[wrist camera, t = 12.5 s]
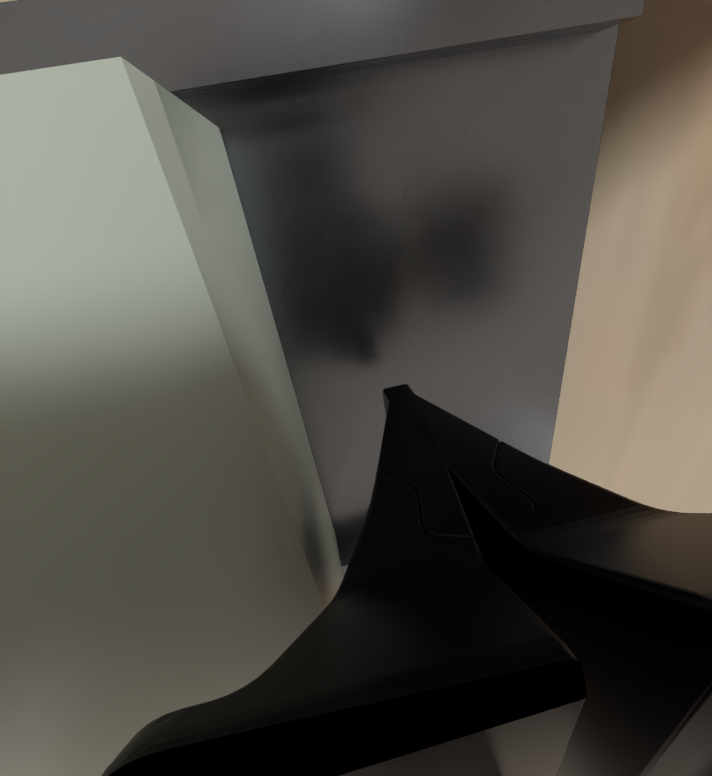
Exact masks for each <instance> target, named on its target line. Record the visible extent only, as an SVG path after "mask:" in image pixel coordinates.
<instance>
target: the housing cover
mask: <svg viewBox="0 0 712 776" xmlns="http://www.w3.org/2000/svg"><path fill="white" fill-rule="evenodd" d="M342 580H343V572H342V566H341V561H340V556H339V550H338V545H337V540H336V535H335V531H334V528H333V524H332V521H331V517H330V514H329V510H328V507H327V503H326V500H325V496H324V493H323V489H322V486H321V482H320V479H319V475H318V472H317V468H316V465H315V461H314V458H313V454H312V451H311V447H310V444H309V440H308V437H307V433H306V430H305V426H304V423H303V419H302V416H301V412H300V409H299V405H298V401H297V398H296V394H295V391H294V387H293V384H292V380H291V377H290V373H289V370H288V366H287V363H286V359H285V356H284V352H283V349H282V345H281V342H280V338H279V335H278V331H277V328H276V324H275V321H274V317H273V314H272V310H271V307H270V303H269V300H268V296H267V293H266V289H265V286H264V282H263V279H262V275H261V272H260V268H259V265H258V261H257V258H256V254H255V251H254V247H253V244H252V240H251V237H250V233H249V230H248V226H247V223H246V219H245V216H244V212H243V209H242V205H241V202H240V198H239V195H238V191H237V188H236V184H235V181H234V177H233V174H232V170H231V167H230V163H229V160H228V156H227V153H226V149H225V146H224V142H223V139H222V135H221V132H220V128H219V127H217V126H216V125H215V124H213V123H212V122H210V121H209V120H208V119H206V118H205V117H204V116H202V115H201V114H199V113H198V112H197V111H195V110H194V109H193V108H191V107H190V106H188V105H187V104H186V103H184V102H183V101H181V100H180V99H179V98H177V97H176V96H175V95H173V94H172V93H170V92H169V91H168V90H166V89H165V88H163V87H162V86H161V85H159V84H158V83H157V82H155V81H154V80H152V79H151V78H150V77H148V76H147V75H146V74H144V73H143V72H141V71H140V70H139V69H137V68H136V67H134V66H133V65H132V64H130V63H129V62H128V61H126V60H125V59H123V58H122V57H115V58H108V59H102V60H95V61H88V62H82V63H75V64H69V65H62V66H55V67H49V68H42V69H35V70H29V71H22V72H16V73H9V74H2V75H0V776H101V775H102V774H103V772H104V771H105V770H106V768H107V767H108V766H109V765H110V764H111V763H112V761H113V760H114V759H115V758H116V757H117V755H118V754H119V753H120V752H121V751H122V749H123V748H124V747H125V746H126V745H127V744H128V743H129V741H130V740H131V739H132V738H133V737H134V736H135V735H136V733H137V732H139V731H140V730H141V729H142V728H143V727H145V726H146V725H147V724H149V723H150V722H152V721H153V720H155V719H157V718H159V717H161V716H163V715H165V714H167V713H170V712H173V711H176V710H179V709H182V708H185V707H189V706H193V705H197V704H201V703H204V702H208V701H212V700H215V699H217V698H220V697H223V696H226V695H228V694H230V693H232V692H234V691H236V690H238V689H240V688H242V687H244V686H246V685H247V684H248V683H250V682H251V681H253V680H254V679H256V678H257V677H259V676H260V675H261V674H262V673H263V672H264V671H265V670H267V669H268V668H269V667H270V666H271V665H272V664H273V663H274V662H275V661H276V660H277V659H278V658H279V656H280V655H281V654H282V653H283V652H284V651H285V650H286V649H287V648H288V647H289V646H290V645H291V644H292V643H293V642H294V641H295V640H296V639H297V638H298V636H299V635H300V634H301V633H302V632H303V631H304V630H305V629H306V628H307V627H308V626H309V625H310V624H311V623H312V622H313V621H314V620H315V619H316V618H317V617H318V615H319V614H320V613H321V612H322V611H323V610H324V609H325V608H326V607H327V606H328V605H329V604H330V602H331V601H332V599H333V598H334V596H335V594H336V593H337V591H338V589H339V587H340V584H341V582H342Z"/></svg>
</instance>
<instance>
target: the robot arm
mask: <svg viewBox="0 0 712 776" xmlns="http://www.w3.org/2000/svg"><path fill="white" fill-rule="evenodd" d="M383 400H384V407H385V413H386V420H385V426H384V432H383V437H382V443H381V449H380V455H379V461H378V466H377V472H376V477H375V482H374V487H373V492H372V496H371V501H370V504H369V507H368V510H367V513H366V517H365V520H364V523H363V525H362V528H361V531H360V534H359V536H358V539H357V542H356V545H355V547H354V550H353V553H352V556H351V558H350V561H349V564H348V567H347V570H346V572H345V575H344V577H343V580H342V582H341V584H340V587H339V589H338V591H337V593H336V594H335V596H334V598H333V599H332V601H331V602H330V604H329V605H328V606H327V607H326V608H325V609H324V610H323V611H322V612H321V613H320V614H319V615H318V617H317V618H316V619H315V620H314V621H313V622H312V623H311V624H310V625H309V626H308V627H307V628H306V629H305V630H304V631H303V632H302V633H301V634H300V635H299V636H298V638H297V639H296V640H295V641H294V642H293V643H292V644H291V645H290V646H289V647H288V648H287V649H286V650H285V651H284V652H283V653H282V654H281V655H280V656H279V658H278V659H277V660H276V661H275V662H274V663H273V664H272V665H271V666H270V667H269V668H268V669H267V670H265V671H264V672H263V673H262V674H261V675H260V676H259V677H257V678H256V679H254V680H253V681H251V682H250V683H248V684H247V685H246V686H244V687H242V688H240V689H238V690H236V691H234V692H232V693H230V694H228V695H226V696H223V697H220V698H217V699H215V700H212V701H208V702H204V703H201V704H197V705H193V706H189V707H185V708H182V709H179V710H176V711H173V712H170V713H167V714H165V715H163V716H161V717H159V718H157V719H155V720H153V721H152V722H150V723H149V724H147V725H146V726H145V727H143V728H142V729H141V730H140V731H139V732H137V733H136V735H135V736H134V737H133V738H132V739H131V740H130V741H129V743H128V744H127V745H126V746H125V747H124V748H123V749H122V751H121V752H120V753H119V754H118V755H117V757H116V758H115V759H114V760H113V761H112V763H111V764H110V765H109V766H108V767H107V768H106V770H105V771H104V772H103V774H102V775H101V776H712V513H680V512H672V511H666V510H661V509H657V508H653V507H650V506H646V505H643V504H641V503H638V502H635V501H633V500H630V499H628V498H626V497H623V496H621V495H618V494H616V493H614V492H611V491H609V490H607V489H604V488H602V487H600V486H597V485H595V484H593V483H590V482H588V481H586V480H583V479H581V478H579V477H576V476H574V475H572V474H569V473H567V472H565V471H562V470H560V469H558V468H556V467H554V466H551V465H549V464H547V463H545V462H542V461H540V460H538V459H536V458H534V457H532V456H530V455H528V454H526V453H524V452H522V451H520V450H518V449H516V448H514V447H513V446H511V445H509V444H507V443H505V442H503V441H500V440H499V439H497V438H496V437H494V436H492V435H490V434H488V433H486V432H484V431H483V430H481V429H479V428H477V427H475V426H473V425H471V424H470V423H468V422H466V421H464V420H462V419H460V418H458V417H457V416H455V415H453V414H451V413H449V412H447V411H445V410H443V409H442V408H440V407H438V406H436V405H434V404H432V403H430V402H429V401H427V400H425V399H423V398H421V397H419V396H417V395H416V394H415V393H414V392H413V390H412V389H411V388H410V386H409V385H408V384H402V385H398V386H393V387H389V388H385V389H383Z"/></svg>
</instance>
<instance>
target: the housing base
mask: <svg viewBox="0 0 712 776" xmlns="http://www.w3.org/2000/svg"><path fill="white" fill-rule="evenodd" d="M644 1H645V0H17V1H9V2H2V3H0V75H2V74H9V73H16V72H22V71H29V70H35V69H42V68H49V67H55V66H62V65H69V64H75V63H82V62H88V61H95V60H102V59H108V58H115V57H122V58H123V59H125V60H126V61H128V62H129V63H130V64H132V65H133V66H134V67H136V68H137V69H139V70H140V71H141V72H143V73H144V74H146V75H147V76H148V77H150V78H151V79H152V80H154V81H155V82H157V83H158V84H159V85H161V86H162V87H163V88H165V89H166V90H168V91H169V92H170V93H172V94H173V95H175V96H176V97H177V98H179V99H180V100H181V101H183V102H184V103H186V104H187V105H188V106H190V107H191V108H193V109H194V110H195V111H197V112H198V113H199V114H201V115H202V116H204V117H205V118H206V119H208V120H209V121H210V122H212V123H213V124H215V125H216V126H217V127H219V128H220V132H221V135H222V139H223V142H224V146H225V149H226V153H227V156H228V160H229V163H230V167H231V170H232V174H233V177H234V181H235V184H236V188H237V191H238V195H239V198H240V202H241V205H242V209H243V212H244V216H245V219H246V223H247V226H248V230H249V233H250V237H251V240H252V244H253V247H254V251H255V254H256V258H257V261H258V265H259V268H260V272H261V275H262V279H263V282H264V286H265V289H266V293H267V296H268V300H269V303H270V307H271V310H272V314H273V317H274V321H275V324H276V328H277V331H278V335H279V338H280V342H281V345H282V349H283V352H284V356H285V359H286V363H287V366H288V370H289V373H290V377H291V380H292V384H293V387H294V391H295V394H296V398H297V401H298V405H299V409H300V412H301V416H302V419H303V423H304V426H305V430H306V433H307V437H308V440H309V444H310V447H311V451H312V454H313V458H314V461H315V465H316V468H317V472H318V475H319V479H320V482H321V486H322V489H323V493H324V496H325V500H326V503H327V507H328V510H329V514H330V517H331V521H332V524H333V528H334V531H335V535H336V540H337V545H338V550H339V556H340V561H341V566H342V572H343V577H344V575H345V572H346V570H347V567H348V564H349V561H350V558H351V556H352V553H353V550H354V547H355V545H356V542H357V539H358V536H359V534H360V531H361V528H362V525H363V523H364V520H365V517H366V513H367V510H368V507H369V504H370V501H371V496H372V492H373V487H374V482H375V477H376V472H377V466H378V461H379V455H380V449H381V443H382V437H383V432H384V426H385V420H386V413H385V407H384V400H383V389H385V388H389V387H393V386H398V385H402V384H408V385H409V386H410V388H411V389H412V390H413V392H414V393H415V394H416V395H417V396H419V397H421V398H423V399H425V400H427V401H429V402H430V403H432V404H434V405H436V406H438V407H440V408H442V409H443V410H445V411H447V412H449V413H451V414H453V415H455V416H457V417H458V418H460V419H462V420H464V421H466V422H468V423H470V424H471V425H473V426H475V427H477V428H479V429H481V430H483V431H484V432H486V433H488V434H490V435H492V436H494V437H496V438H497V439H499V440H500V441H503V442H505V443H507V444H509V445H511V446H513V447H514V448H516V449H518V450H520V451H522V452H524V453H526V454H528V455H530V456H532V457H534V458H536V459H538V460H540V461H542V462H545V463H547V464H549V459H550V453H551V447H552V440H553V434H554V428H555V422H556V415H557V409H558V403H559V397H560V390H561V384H562V378H563V372H564V365H565V359H566V353H567V347H568V340H569V334H570V328H571V322H572V316H573V309H574V303H575V297H576V291H577V284H578V278H579V272H580V266H581V259H582V253H583V247H584V241H585V234H586V228H587V222H588V216H589V209H590V203H591V197H592V191H593V184H594V178H595V172H596V166H597V159H598V153H599V147H600V141H601V134H602V128H603V122H604V116H605V109H606V103H607V97H608V91H609V84H610V78H611V72H612V66H613V59H614V53H615V47H616V41H617V34H618V28H619V24H621V23H623V22H626V21H629V20H631V19H634V18H636V17H639V16H641V15H642V12H643V7H644Z"/></svg>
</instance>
